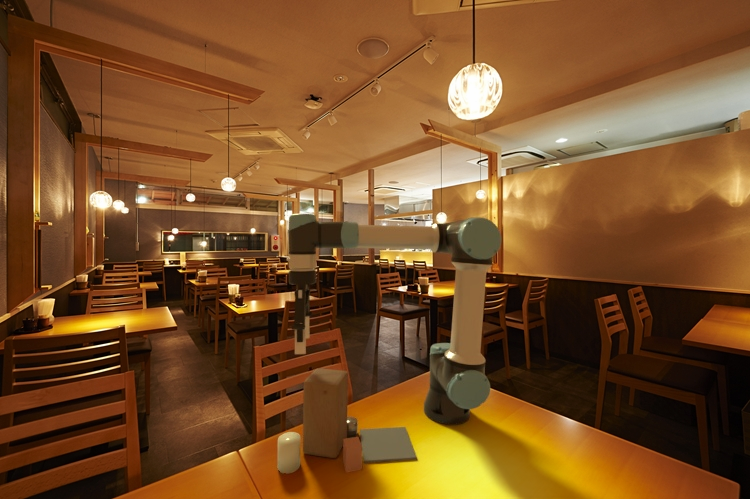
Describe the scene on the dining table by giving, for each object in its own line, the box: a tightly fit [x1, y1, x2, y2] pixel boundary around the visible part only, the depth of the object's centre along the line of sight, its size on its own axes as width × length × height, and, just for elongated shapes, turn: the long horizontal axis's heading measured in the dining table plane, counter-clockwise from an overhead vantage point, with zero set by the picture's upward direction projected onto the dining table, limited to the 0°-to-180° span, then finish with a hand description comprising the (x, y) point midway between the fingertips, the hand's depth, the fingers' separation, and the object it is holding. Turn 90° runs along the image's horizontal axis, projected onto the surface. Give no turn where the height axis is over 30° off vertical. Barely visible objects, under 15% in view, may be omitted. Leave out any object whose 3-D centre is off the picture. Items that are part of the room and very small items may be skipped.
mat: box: [359, 426, 418, 464], centre depth 90 cm, size 14×14×1 cm
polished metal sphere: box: [347, 416, 358, 438], centre depth 95 cm, size 4×4×4 cm
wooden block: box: [302, 368, 349, 459], centre depth 89 cm, size 10×10×20 cm
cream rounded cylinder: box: [276, 431, 301, 475], centre depth 81 cm, size 6×6×7 cm
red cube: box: [342, 436, 363, 473], centre depth 81 cm, size 4×4×6 cm
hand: (302, 345), depth 89 cm, fingers open, 13 cm apart
